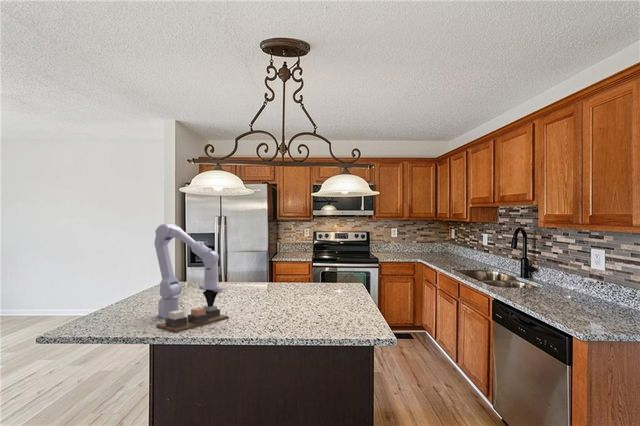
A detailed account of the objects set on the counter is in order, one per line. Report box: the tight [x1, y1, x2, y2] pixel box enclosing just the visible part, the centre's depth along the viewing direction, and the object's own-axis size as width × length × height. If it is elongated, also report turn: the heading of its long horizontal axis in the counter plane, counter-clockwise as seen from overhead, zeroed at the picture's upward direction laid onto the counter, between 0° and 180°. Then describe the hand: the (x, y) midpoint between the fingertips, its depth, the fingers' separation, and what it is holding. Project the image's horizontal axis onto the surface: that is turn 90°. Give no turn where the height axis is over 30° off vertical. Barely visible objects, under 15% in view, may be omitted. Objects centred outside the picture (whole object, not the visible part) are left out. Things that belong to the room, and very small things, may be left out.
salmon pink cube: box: [190, 307, 206, 317], centre depth 170 cm, size 4×4×4 cm
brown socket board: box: [155, 308, 230, 334], centre depth 172 cm, size 14×28×4 cm, turn 145°
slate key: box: [203, 304, 218, 311], centre depth 179 cm, size 4×4×4 cm
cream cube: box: [169, 309, 185, 320], centre depth 164 cm, size 4×4×4 cm
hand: (210, 306), depth 179 cm, fingers closed, pressing on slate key
